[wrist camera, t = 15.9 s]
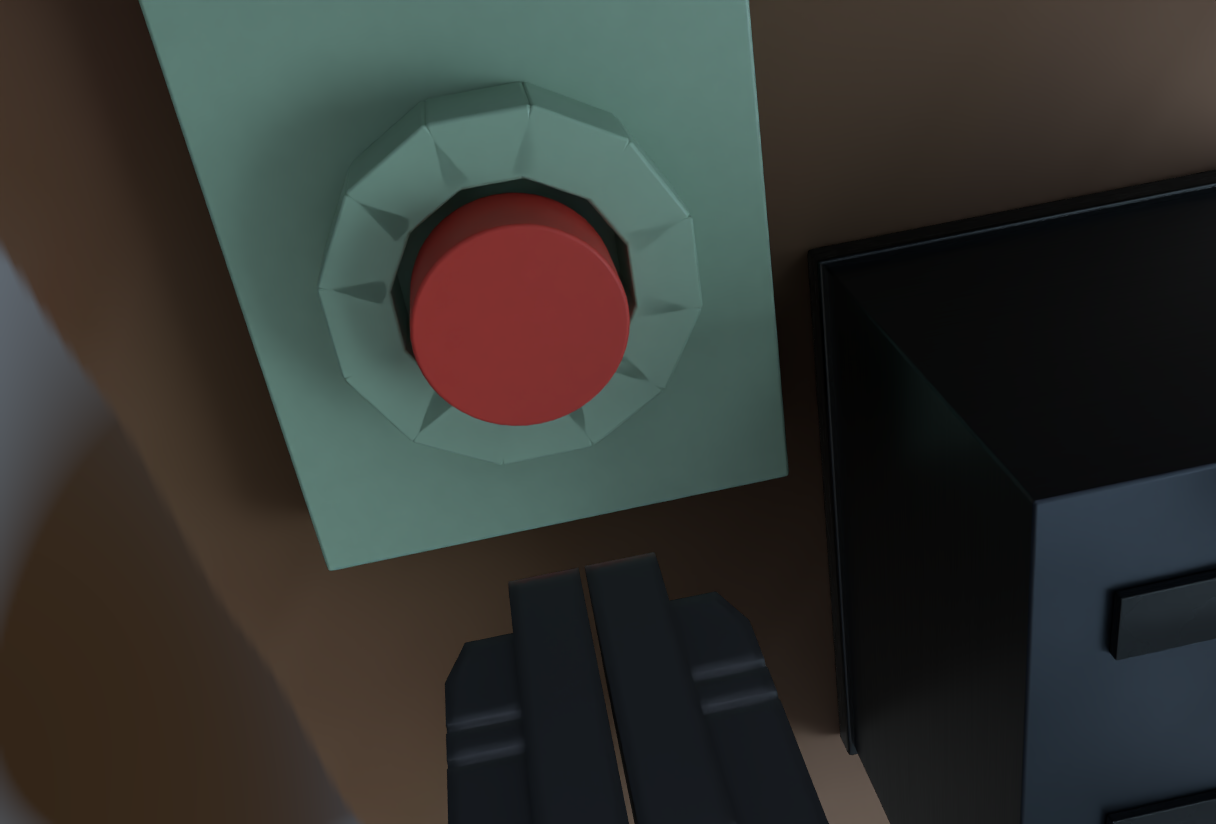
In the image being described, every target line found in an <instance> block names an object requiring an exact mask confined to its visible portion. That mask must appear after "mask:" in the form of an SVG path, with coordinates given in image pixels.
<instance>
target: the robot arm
mask: <svg viewBox="0 0 1216 824" xmlns="http://www.w3.org/2000/svg"><path fill="white" fill-rule="evenodd" d="M585 571H586V577H587V582H588V587H589V593H590V598H591V603H592V609H593V614H594V619H595V625H596V630H597V635H598V641H599V646H600V651H601V656H602V662H603V667H604V672H605V678H606V683H607V688H608V693H609V698H610V704H611V709H612V714H613V719H614V724H615V729H616V734H617V739H618V744H619V749H620V754H621V759H622V764H623V769H624V774H625V778H626V783H627V788H628V793H629V798H630V803H631V808H632V813H633V818H634V823H635V824H829V823H828V821H827V818H826V816H825V813H824V811H823V808H822V806H821V803H820V801H819V798H818V795H817V793H816V790H815V788H814V785H813V783H812V780H811V777H810V775H809V772H808V770H807V767H806V765H805V762H804V759H803V757H802V754H801V752H800V749H799V747H798V744H797V742H796V739H795V736H794V734H793V731H792V729H791V726H790V724H789V721H788V718H787V716H786V713H785V711H784V708H783V706H782V703H781V700H780V699H778V695H777V690H776V688H775V685H774V683H773V680H772V677H771V675H770V672H769V670H768V667H766V665H765V660H764V657H763V654H762V652H761V649H760V647H759V644H758V641H757V639H756V636H755V634H754V631H753V629H752V626H751V624H750V621H749V620H748V619H747V618H746V617H745V616H744V615H742V614H741V613H740V612H739V611H738V610H737V609H736V608H734V607H733V606H732V605H731V604H730V603H729V602H727V601H726V600H725V599H724V598H723V597H722V596H721V595H719V594H718V593H717V592H711V593H706V594H701V595H696V596H691V597H686V598H681V599H676V600H671V601H669V598H668V594H667V591H666V588H665V584H664V581H663V578H662V574H661V571H660V568H659V564H658V561H657V558H656V555H655V553H654V552H652V553H647V554H642V555H637V556H633V557H628V558H623V559H618V560H613V561H608V562H603V563H598V564H593V565H588V566H585ZM508 586H509V597H510V607H511V616H512V626H513V633H511V634H506V635H501V636H496V637H491V638H486V639H481V640H476V641H471V642H466V643H465V644H464V646H463V648H462V650H461V652H460V654H459V656H458V658H457V660H456V662H455V664H454V666H453V668H452V670H451V672H450V674H449V676H448V678H447V680H446V682H445V704H446V727H447V734H446V747H447V763H448V769H447V789H448V824H629V822H628V816H627V811H626V806H625V801H624V796H623V791H622V786H621V781H620V776H619V771H618V766H617V761H616V756H615V751H614V746H613V741H612V735H611V730H610V725H609V720H608V715H607V710H606V705H605V700H604V695H603V690H602V685H601V680H600V675H599V670H598V665H597V660H596V654H595V649H594V644H593V639H592V634H591V629H590V624H589V619H588V614H587V609H586V604H585V599H584V594H583V589H582V584H581V579H580V573H579V569H578V568H574V569H569V570H564V571H559V572H554V573H549V574H544V575H539V576H534V577H529V578H525V579H520V580H515V581H510V582H509V583H508Z"/></svg>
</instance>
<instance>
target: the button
mask: <svg viewBox="0 0 1216 824" xmlns="http://www.w3.org/2000/svg"><path fill="white" fill-rule="evenodd" d="M629 329H630V314H629V305H628V301H627V296H626V293H625V290H624V288H623V285H622V283H621V280H620V278H619V275H618V273H617V271H616V268H615V266H614V264H613V261H612V259H611V257H610V254H609V252H608V250H607V248H606V246H605V244H604V242H603V240H602V239H601V237H600V236H599V234H598V233H597V232H596V230H595V229H594V228H593V227H592V226H591V225H590V224H589V223H588V222H587V221H586V220H585V218H583V217H582V216H581V215H579V214H578V213H577V212H576V211H574V210H573V209H571V208H569V207H567V206H566V205H564V204H562V203H560V202H558V201H555V200H553V199H550V198H547V197H543V196H539V195H536V194H528V193H502V194H494V195H490V196H486V197H482V198H479V199H477V200H474V201H472V202H469V203H467V204H465V205H463V206H462V207H460V208H458V209H456V210H455V211H453V212H452V213H451V214H449V215H448V216H447V217H445V218H444V219H443V220H442V221H441V222H440V223H439V224H438V225H437V226H436V227H435V228H434V229H433V230H432V232H431V233H430V234H429V236H428V237H427V238H426V240H425V242H424V243H423V245H422V247H421V248H420V250H419V253H418V255H417V258H416V260H415V263H414V267H413V271H412V275H411V285H410V339H411V345H412V350H413V353H414V356H415V359H416V362H417V364H418V366H419V368H420V370H421V372H422V374H423V376H424V377H425V379H426V380H427V382H428V383H429V385H430V386H431V387H432V388H433V389H434V390H435V391H436V392H437V394H438V395H439V396H440V397H442V398H443V399H444V400H445V401H446V402H448V403H449V404H450V405H452V406H453V407H455V408H456V409H458V410H459V411H461V412H463V413H465V414H467V415H469V416H471V417H473V418H476V419H479V420H482V421H485V422H489V423H494V424H499V425H509V426H528V425H534V424H541V423H545V422H549V421H553V420H556V419H558V418H561V417H563V416H566V415H568V414H570V413H572V412H574V411H575V410H577V409H579V408H580V407H582V406H583V405H585V404H586V403H588V402H589V401H590V400H591V399H593V398H594V397H595V396H596V395H597V394H598V393H599V392H600V391H601V390H602V389H603V388H604V387H605V386H606V384H607V383H608V382H609V381H610V379H611V378H612V376H613V375H614V373H615V372H616V370H617V368H618V366H619V364H620V362H621V360H622V358H623V355H624V353H625V350H626V347H627V342H628V337H629Z"/></svg>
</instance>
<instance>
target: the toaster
mask: <svg viewBox="0 0 1216 824" xmlns="http://www.w3.org/2000/svg"><path fill="white" fill-rule="evenodd" d="M808 267H809V281H810V296H811V311H812V326H813V340H814V355H815V370H816V385H817V399H818V414H819V429H820V444H821V458H822V473H823V488H824V503H825V518H826V532H827V547H828V562H829V577H830V591H831V606H832V621H833V636H834V650H835V665H836V680H837V695H838V709H839V724H840V737H841V739H842V741H843V743H844V745H845V748H846V750H847V752H848V753H849V755H854V754H858V755H859V757H860V759H861V761H862V763H863V766H864V768H865V770H866V772H867V774H868V776H869V779H870V781H871V783H872V785H873V787H874V789H875V792H876V794H877V796H878V798H879V800H880V802H881V804H882V807H883V809H884V811H885V813H886V815H887V817H888V820H889V822H890V824H1216V170H1212V171H1207V172H1202V173H1196V174H1191V175H1186V176H1181V177H1176V178H1171V179H1166V180H1161V181H1156V182H1151V183H1146V184H1141V185H1135V186H1130V187H1125V188H1120V189H1115V190H1110V191H1105V192H1100V193H1095V194H1090V195H1085V196H1080V197H1074V198H1069V199H1064V200H1059V201H1054V202H1049V203H1044V204H1039V205H1034V206H1029V207H1024V208H1019V209H1013V210H1008V211H1003V212H998V213H993V214H988V215H983V216H978V217H973V218H968V219H963V220H958V221H952V222H947V223H942V224H937V225H932V226H927V227H922V228H917V229H912V230H907V231H902V232H897V233H891V234H886V235H881V236H876V237H871V238H866V239H861V240H856V241H851V242H846V243H841V244H836V245H830V246H825V247H820V248H815V249H811V250H809V251H808Z"/></svg>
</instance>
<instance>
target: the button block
mask: <svg viewBox="0 0 1216 824" xmlns="http://www.w3.org/2000/svg"><path fill="white" fill-rule="evenodd" d="M139 3H140V6H141V9H142V12H143V15H144V18H145V21H146V24H147V27H148V30H149V33H150V36H151V39H152V42H153V45H154V48H155V51H156V54H157V57H158V60H159V63H160V66H161V69H162V72H163V75H164V78H165V82H166V85H167V88H168V91H169V94H170V97H171V100H172V103H173V106H174V109H175V112H176V115H177V118H178V121H179V124H180V127H181V130H182V133H183V136H184V139H185V142H186V145H187V148H188V151H189V154H190V157H191V160H192V163H193V166H194V169H195V172H196V175H197V178H198V181H199V184H200V187H201V190H202V193H203V196H204V199H205V202H206V205H207V208H208V211H209V214H210V217H211V220H212V223H213V226H214V229H215V232H216V235H217V238H218V241H219V244H220V247H221V250H222V253H223V256H224V259H225V262H226V265H227V268H228V271H229V274H230V277H231V280H232V283H233V286H234V289H235V292H236V295H237V298H238V301H239V304H240V307H241V310H242V313H243V316H244V319H245V322H246V325H247V328H248V331H249V334H250V337H251V340H252V343H253V346H254V349H255V352H256V355H257V358H258V361H259V364H260V367H261V370H262V373H263V376H264V379H265V382H266V385H267V388H268V391H269V394H270V397H271V400H272V403H273V406H274V409H275V412H276V415H277V418H278V421H279V424H280V427H281V430H282V433H283V436H284V439H285V442H286V445H287V448H288V451H289V454H290V457H291V460H292V463H293V466H294V469H295V472H296V475H297V478H298V481H299V484H300V487H301V490H302V493H303V496H304V499H305V502H306V505H307V508H308V511H309V514H310V517H311V520H312V523H313V526H314V529H315V532H316V535H317V538H318V541H319V544H320V547H321V550H322V553H323V556H324V559H325V562H326V565H327V568H328V569H329V570H330V571H333V570H338V569H343V568H348V567H352V566H357V565H362V564H367V563H372V562H376V561H381V560H386V559H391V558H396V557H400V556H405V555H410V554H415V553H420V552H424V551H429V550H434V549H439V548H444V547H448V546H453V545H458V544H463V543H468V542H473V541H477V540H482V539H487V538H492V537H497V536H501V535H506V534H511V533H516V532H521V531H525V530H530V529H535V528H540V527H545V526H549V525H554V524H559V523H564V522H569V521H573V520H578V519H583V518H588V517H593V516H597V515H602V514H607V513H612V512H617V511H621V510H626V509H631V508H636V507H641V506H646V505H650V504H655V503H660V502H665V501H670V500H674V499H679V498H684V497H689V496H694V495H698V494H703V493H708V492H713V491H718V490H722V489H727V488H732V487H737V486H742V485H746V484H751V483H756V482H761V481H766V480H770V479H775V478H780V477H785V476H787V475H788V473H789V469H788V457H787V445H786V433H785V421H784V409H783V398H782V386H781V374H780V362H779V350H778V339H777V327H776V315H775V303H774V291H773V280H772V268H771V256H770V244H769V232H768V221H767V209H766V197H765V185H764V173H763V161H762V150H761V138H760V126H759V114H758V102H757V91H756V79H755V67H754V55H753V43H752V32H751V20H750V8H749V0H139ZM502 193H528V194H536V195H539V196H543V197H547V198H550V199H553V200H555V201H558V202H560V203H562V204H564V205H566V206H567V207H569V208H571V209H573V210H574V211H576V212H577V213H578V214H579V215H581V216H582V217H583V218H585V220H586V221H587V222H588V223H589V224H590V225H591V226H592V227H593V228H594V229H595V230H596V232H597V233H598V234H599V236H600V237H601V239H602V240H603V242H604V244H605V246H606V248H607V250H608V252H609V254H610V257H611V259H612V261H613V264H614V266H615V268H616V271H617V273H618V275H619V278H620V280H621V283H622V285H623V288H624V290H625V293H626V296H627V301H628V305H629V314H630V329H629V337H628V342H627V347H626V350H625V353H624V355H623V358H622V360H621V362H620V364H619V366H618V368H617V370H616V372H615V373H614V375H613V376H612V378H611V379H610V381H609V382H608V383H607V384H606V386H605V387H604V388H603V389H602V390H601V391H600V392H599V393H598V394H597V395H596V396H595V397H594V398H593V399H591V400H590V401H589V402H588V403H586V404H585V405H583V406H582V407H580V408H579V409H577V410H575V411H574V412H572V413H570V414H568V415H566V416H563V417H561V418H558V419H556V420H553V421H549V422H545V423H541V424H534V425H528V426H509V425H499V424H494V423H489V422H485V421H482V420H479V419H476V418H473V417H471V416H469V415H467V414H465V413H463V412H461V411H459V410H458V409H456V408H455V407H453V406H452V405H450V404H449V403H448V402H446V401H445V400H444V399H443V398H442V397H440V396H439V395H438V394H437V392H436V391H435V390H434V389H433V388H432V387H431V386H430V385H429V383H428V382H427V380H426V379H425V377H424V376H423V374H422V372H421V370H420V368H419V366H418V364H417V362H416V359H415V356H414V353H413V350H412V345H411V339H410V285H411V275H412V271H413V267H414V263H415V260H416V258H417V255H418V253H419V250H420V248H421V247H422V245H423V243H424V242H425V240H426V238H427V237H428V236H429V234H430V233H431V232H432V230H433V229H434V228H435V227H436V226H437V225H438V224H439V223H440V222H441V221H442V220H443V219H444V218H445V217H447V216H448V215H449V214H451V213H452V212H453V211H455V210H456V209H458V208H460V207H462V206H463V205H465V204H467V203H469V202H472V201H474V200H477V199H479V198H482V197H486V196H490V195H494V194H502Z"/></svg>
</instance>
